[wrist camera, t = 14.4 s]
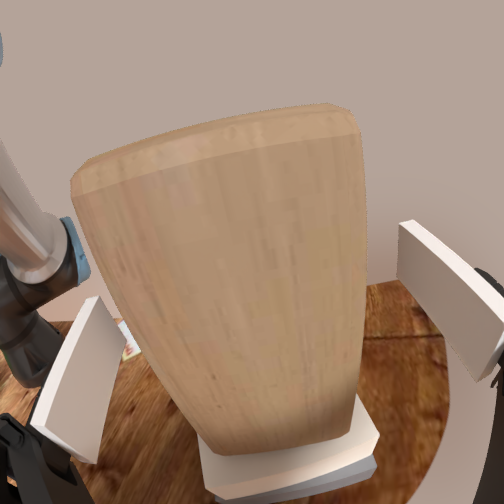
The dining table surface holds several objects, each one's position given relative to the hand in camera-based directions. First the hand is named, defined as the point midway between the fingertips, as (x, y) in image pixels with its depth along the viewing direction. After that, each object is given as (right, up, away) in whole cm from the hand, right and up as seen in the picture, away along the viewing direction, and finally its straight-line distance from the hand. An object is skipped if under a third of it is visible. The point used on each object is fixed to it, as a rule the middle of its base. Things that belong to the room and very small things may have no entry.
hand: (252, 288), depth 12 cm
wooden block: (+2, -10, +9) cm, 14 cm away
